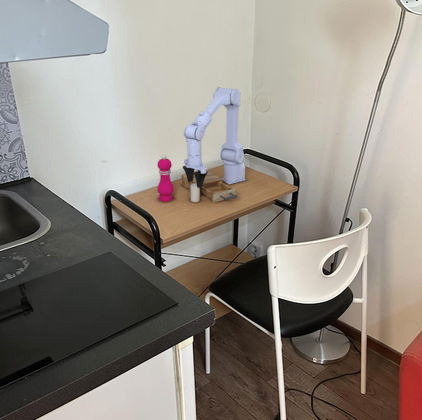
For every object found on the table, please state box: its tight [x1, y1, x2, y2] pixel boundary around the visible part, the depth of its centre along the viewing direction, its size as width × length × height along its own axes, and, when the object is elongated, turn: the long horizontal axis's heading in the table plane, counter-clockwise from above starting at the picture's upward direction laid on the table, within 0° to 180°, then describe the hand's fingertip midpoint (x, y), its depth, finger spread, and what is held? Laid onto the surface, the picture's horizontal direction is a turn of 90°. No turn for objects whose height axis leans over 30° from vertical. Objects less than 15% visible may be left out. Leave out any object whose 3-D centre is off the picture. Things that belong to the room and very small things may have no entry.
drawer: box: [200, 181, 238, 203], centre depth 192 cm, size 18×11×3 cm, turn 27°
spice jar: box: [189, 183, 201, 203], centre depth 190 cm, size 4×4×7 cm
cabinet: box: [181, 169, 223, 196], centre depth 203 cm, size 15×13×5 cm
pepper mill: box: [156, 154, 175, 203], centre depth 190 cm, size 7×7×20 cm
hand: (195, 184), depth 189 cm, fingers open, 7 cm apart
